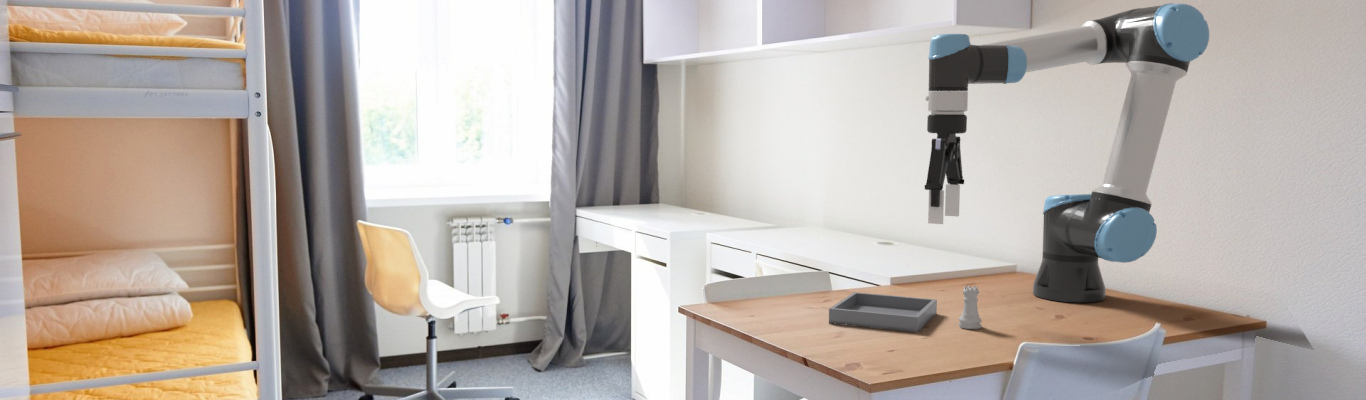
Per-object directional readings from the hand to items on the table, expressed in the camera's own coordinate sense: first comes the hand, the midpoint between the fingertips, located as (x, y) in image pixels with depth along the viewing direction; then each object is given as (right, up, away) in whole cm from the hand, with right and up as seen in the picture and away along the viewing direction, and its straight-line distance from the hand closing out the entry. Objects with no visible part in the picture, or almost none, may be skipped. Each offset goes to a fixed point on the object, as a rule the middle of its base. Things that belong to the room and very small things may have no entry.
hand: (944, 219), depth 189 cm
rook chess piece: (+4, -21, -5) cm, 22 cm away
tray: (-11, -20, +3) cm, 23 cm away
